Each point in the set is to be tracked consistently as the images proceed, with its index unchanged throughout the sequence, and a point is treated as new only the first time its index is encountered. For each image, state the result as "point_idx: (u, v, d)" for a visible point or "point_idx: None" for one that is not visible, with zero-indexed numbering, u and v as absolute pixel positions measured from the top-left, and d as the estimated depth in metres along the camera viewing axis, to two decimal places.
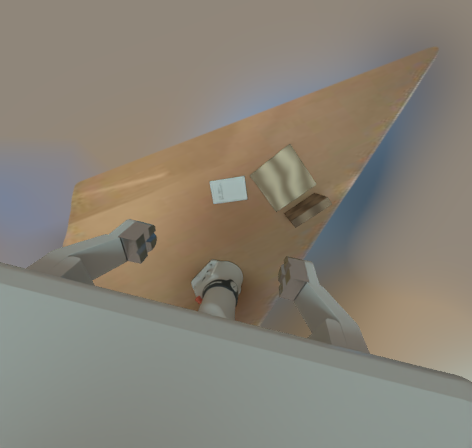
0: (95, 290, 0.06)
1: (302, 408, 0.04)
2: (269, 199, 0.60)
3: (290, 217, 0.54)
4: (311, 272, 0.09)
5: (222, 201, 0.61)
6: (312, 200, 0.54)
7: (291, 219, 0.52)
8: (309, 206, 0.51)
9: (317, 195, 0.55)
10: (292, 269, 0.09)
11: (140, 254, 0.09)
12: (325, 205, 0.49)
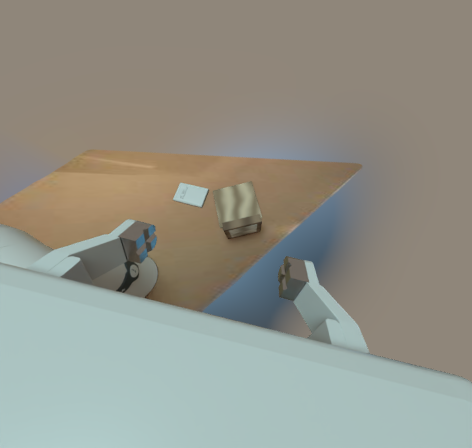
0: (95, 290, 0.06)
1: (303, 409, 0.04)
2: (219, 214, 0.65)
3: None
4: (311, 272, 0.09)
5: (181, 200, 0.68)
6: None
7: None
8: None
9: None
10: (292, 269, 0.09)
11: (140, 254, 0.09)
12: (255, 220, 0.52)
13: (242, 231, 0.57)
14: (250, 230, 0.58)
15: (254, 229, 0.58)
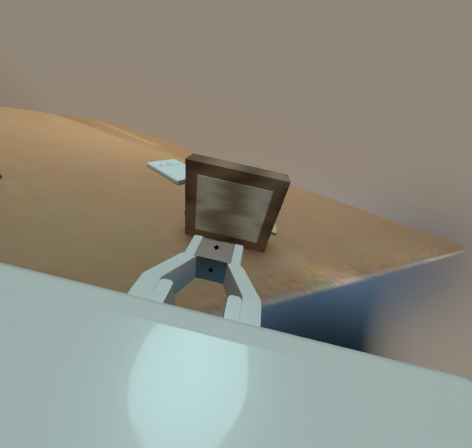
0: (95, 290, 0.06)
1: (303, 409, 0.04)
2: None
3: None
4: (237, 254, 0.09)
5: (156, 166, 0.41)
6: None
7: None
8: None
9: None
10: (218, 251, 0.09)
11: None
12: (275, 176, 0.19)
13: (227, 210, 0.22)
14: (246, 222, 0.22)
15: (256, 224, 0.22)
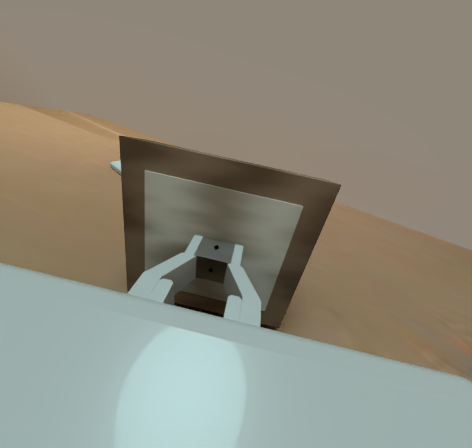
0: (95, 290, 0.06)
1: (303, 408, 0.04)
2: None
3: None
4: (237, 254, 0.09)
5: None
6: None
7: None
8: None
9: None
10: (218, 251, 0.09)
11: None
12: (305, 176, 0.10)
13: None
14: (244, 269, 0.11)
15: (265, 274, 0.11)
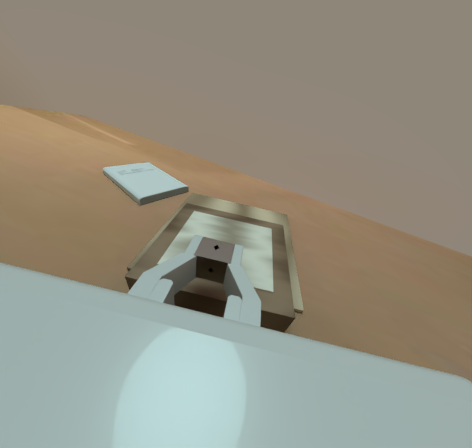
0: (95, 290, 0.06)
1: (303, 409, 0.04)
2: None
3: None
4: (237, 254, 0.09)
5: (114, 174, 0.27)
6: None
7: None
8: None
9: None
10: (218, 251, 0.09)
11: None
12: None
13: (221, 240, 0.16)
14: (248, 255, 0.15)
15: (264, 258, 0.15)
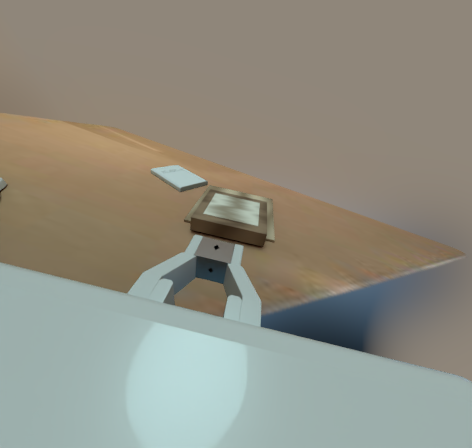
0: (95, 290, 0.06)
1: (303, 408, 0.04)
2: (197, 206, 0.34)
3: None
4: (237, 254, 0.09)
5: (159, 173, 0.42)
6: None
7: None
8: None
9: None
10: (218, 251, 0.09)
11: None
12: None
13: (232, 206, 0.31)
14: (246, 213, 0.30)
15: (254, 214, 0.30)
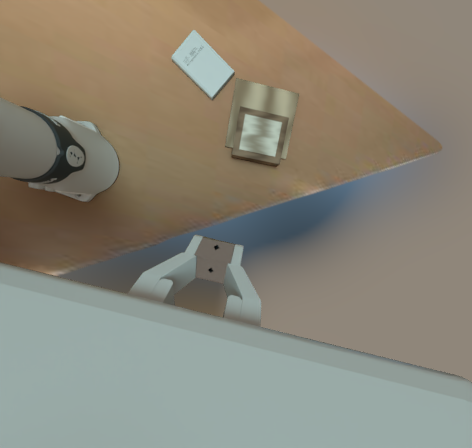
0: (95, 290, 0.06)
1: (303, 409, 0.04)
2: (231, 125, 0.43)
3: None
4: (237, 254, 0.09)
5: (184, 66, 0.40)
6: None
7: None
8: None
9: None
10: (218, 251, 0.09)
11: None
12: None
13: (259, 134, 0.41)
14: (269, 141, 0.41)
15: (274, 142, 0.41)
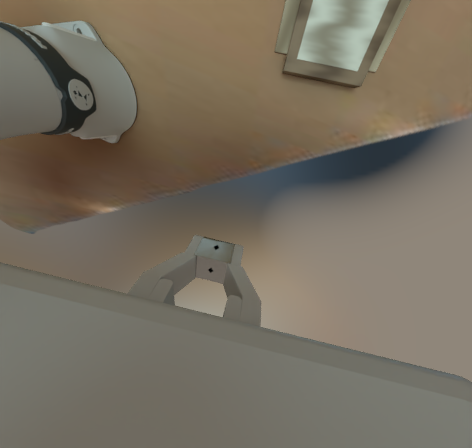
0: (95, 290, 0.06)
1: (303, 409, 0.04)
2: (290, 1, 0.24)
3: None
4: (237, 254, 0.09)
5: None
6: None
7: None
8: None
9: None
10: (218, 251, 0.09)
11: None
12: None
13: (339, 22, 0.23)
14: (354, 38, 0.23)
15: (365, 39, 0.23)
